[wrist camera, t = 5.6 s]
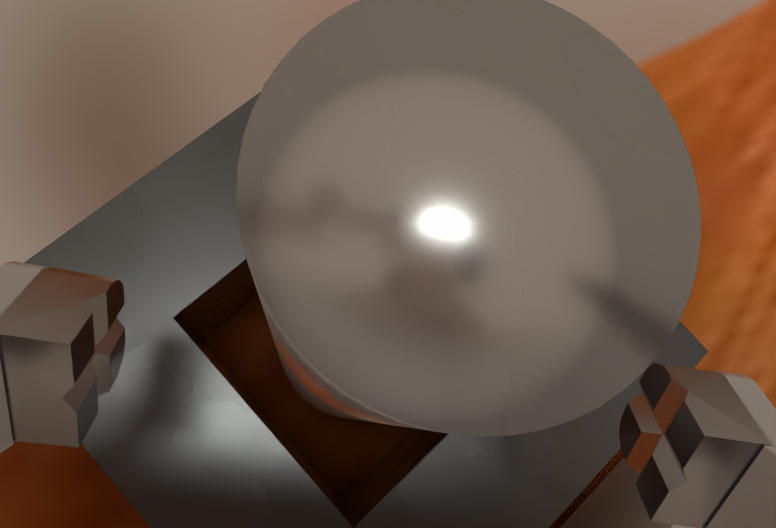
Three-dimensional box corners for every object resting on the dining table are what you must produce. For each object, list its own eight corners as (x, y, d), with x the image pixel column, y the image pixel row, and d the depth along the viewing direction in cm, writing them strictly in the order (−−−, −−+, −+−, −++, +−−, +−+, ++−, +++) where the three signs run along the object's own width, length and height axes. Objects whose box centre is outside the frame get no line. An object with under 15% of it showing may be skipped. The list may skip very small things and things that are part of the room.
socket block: (47, 330, 18) (-34, 304, 13) (364, 89, 21) (381, 4, 16) (329, 668, 17) (341, 757, 12) (618, 364, 20) (708, 351, 16)
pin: (251, 343, 18) (129, 158, 5) (354, 256, 19) (483, -93, 6) (342, 447, 18) (476, 553, 5) (441, 354, 19) (786, 219, 6)
